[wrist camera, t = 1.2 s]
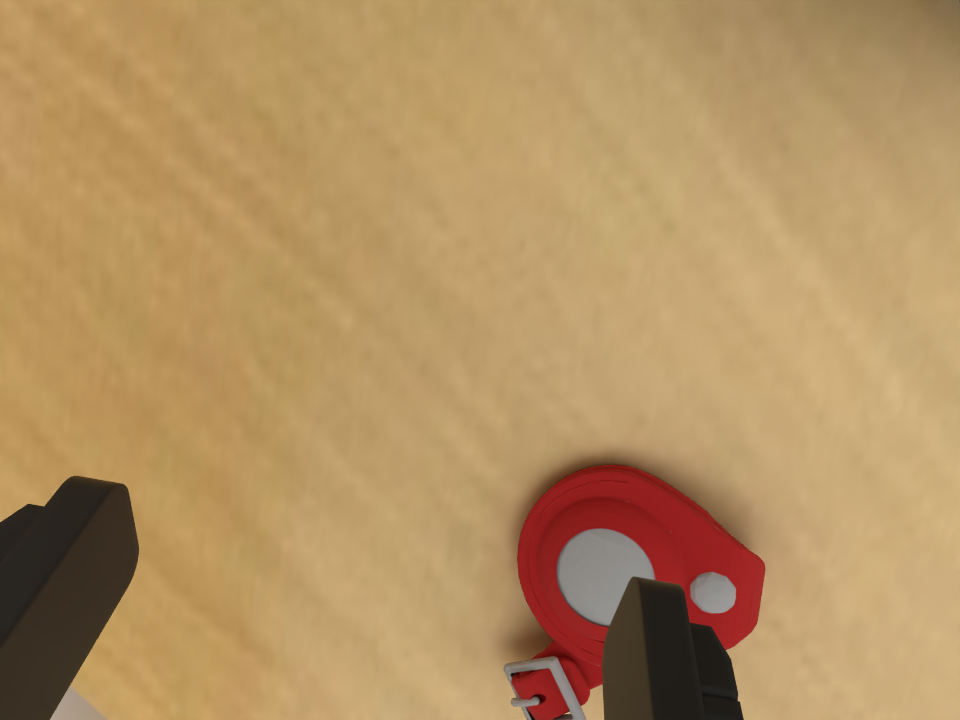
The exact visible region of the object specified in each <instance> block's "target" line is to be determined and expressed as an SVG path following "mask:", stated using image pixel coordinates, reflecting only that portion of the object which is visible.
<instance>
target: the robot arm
mask: <svg viewBox="0 0 960 720" xmlns="http://www.w3.org/2000/svg"><path fill="white" fill-rule="evenodd" d="M138 555H139V545H138V539H137V534H136V528H135V523H134V518H133V512H132V507H131V502H130V496H129V492H128V489H127V487H126V486H125V485H124V484H120V483H115V482H109V481H103V480H98V479H92V478H86V477H81V476H73V477H70V478H69V479H67V480H66V481H65V482H64V483H63V484H62V485H61V486H60V488H59V489H58V490H57V491H56V493H55V494H54V495H53V496H52V498H51V499H50V500H49V501H48V503H47V504H46V505H45V507H43V506H38V505H32V504H27V505H26V506H24V507H23V508H21V509H20V510H18V511H17V512H15V513H14V514H12V515H11V516H9V517H8V518H6V519H5V520H3V521H2V522H0V720H50V718H51V717H52V715H53V713H54V711H55V710H56V708H57V706H58V705H59V703H60V701H61V699H62V698H63V696H64V694H65V693H66V691H67V689H68V688H69V686H70V684H71V683H72V681H73V679H74V678H75V676H76V674H77V673H78V671H79V669H80V667H81V666H82V664H83V662H84V661H85V659H86V657H87V656H88V654H89V652H90V650H91V649H92V647H93V645H94V644H95V642H96V640H97V639H98V637H99V635H100V634H101V632H102V630H103V628H104V627H105V625H106V623H107V622H108V620H109V618H110V617H111V615H112V613H113V611H114V610H115V608H116V606H117V605H118V603H119V601H120V600H121V598H122V596H123V595H124V593H125V591H126V589H127V588H128V586H129V584H130V582H131V580H132V578H133V575H134V572H135V569H136V565H137V561H138ZM602 680H603V700H604V720H744V719H743V715H742V710H741V705H740V702H738V691H737V686H736V681H735V677H734V672H733V667H732V662H731V659H730V657H729V655H728V654H727V652H726V650H725V649H724V647H723V645H722V644H721V642H720V640H719V638H718V637H717V635H716V633H715V632H714V630H713V628H712V627H711V626H707V625H701V624H696V623H690V621H689V615H688V609H687V603H686V597H685V593H684V590H683V588H682V586H681V585H679V584H675V583H669V582H664V581H658V580H652V579H647V578H641V577H635V576H634V577H632V578H631V579H630V580H629V582H628V585H627V587H626V589H625V591H624V594H623V596H622V598H621V600H620V603H619V605H618V607H617V610H616V612H615V614H614V616H613V619H612V621H611V623H610V626H609V628H608V630H607V633H606V637H605V642H604V648H603V656H602Z"/></svg>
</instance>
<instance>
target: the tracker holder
mask: <svg viewBox="0 0 960 720" xmlns="http://www.w3.org/2000/svg"><path fill="white" fill-rule="evenodd" d="M517 561H518V573H519V579H520V583H521V587H522V590H523V593H524V596H525V598H526V601H527V603H528V605H529V607H530V609H531V611H532V613H533V614H534V616H535V618H536V619H537V621H538V622H539V624H540V625H541V626H542V627H543V629H544V630H545V631H546V632H547V633H548V634H549V635H550V636H551V637H552V638H553V639H554V640H553V641H552V643H551V644H550V645H549V646H548V647H547V648H546V649H545V650H544V651H543V652H541V653H539V654H538V655H536V656H535V657H534V658H532V659H531V660H527V661H520V662H514V663H508V664H506V665H504V671H505V674H506V676H507V678H508V680H509V682H510V684H511V686H512V689H513V691H514V693H515V695H516V697H517V698H513V699H512V700H511V705H513V706H519V707H521V708H522V710H523V712H524V714H525V717H526V719H527V720H586V717H585V715H584V712H583V710H582V708H581V705H584V704H585V703H586V702H587V701H588V698H589V695H590V689H592V688H595V687H597V686H599V685H601V684H603V680H602V656H603V648H604V642H605V637H606V633H607V630H608V628H609V626H610V623H611V621H612V619H613V616H614V614H615V612H616V610H617V607H618V605H619V603H620V600H621V598H622V596H623V594H624V591H625V589H626V587H627V585H628V582H629V580H630V579H631V578H632V577H634V576H635V577H641V578H647V579H652V580H658V581H664V582H669V583H675V584H679V585H681V586H682V588H683V590H684V593H685V597H686V603H687V609H688V615H689V621H690V623H696V624H701V625H707V626H711V627H712V628H713V630H714V632H715V633H716V635H717V637H718V638H719V640H720V642H721V644H722V645H723V647H724V649H725V650H727V649H730V648H732V647H734V646H735V645H736V644H738V643H739V642H740V641H741V640H742V639H744V638H745V637H746V636H747V635H749V634H750V633H751V632H752V630H753V629H754V627H755V626H756V624H757V621H758V615H759V608H760V602H761V595H762V589H763V582H764V576H765V564H764V562H763V561H762V560H761V559H760V557H758V556H757V555H755V554H754V553H752V552H751V551H749V550H748V549H747V548H746V547H745V546H744V545H742V544H741V543H740V542H739V541H738V540H736V539H735V538H734V537H733V536H731V535H730V534H729V533H728V532H727V531H726V530H725V529H724V528H722V527H721V526H720V525H719V524H718V523H717V522H716V521H715V520H714V519H713V518H712V517H711V515H710V514H709V513H708V512H707V511H705V510H704V509H703V508H702V507H700V506H699V505H698V504H697V503H695V502H694V501H693V500H691V499H690V498H688V497H687V496H685V495H684V494H682V493H681V492H679V491H678V490H676V489H675V488H673V487H672V486H670V485H669V484H667V483H665V482H664V481H662V480H660V479H658V478H657V477H655V476H653V475H651V474H649V473H646V472H644V471H642V470H639V469H637V468H633V467H629V466H622V465H600V466H595V467H589V468H586V469H583V470H580V471H577V472H575V473H573V474H571V475H569V476H567V477H565V478H564V479H562V480H560V481H559V482H557V483H556V484H555V485H554V486H553V487H551V488H550V489H549V490H548V491H547V492H546V493H545V494H544V495H543V496H542V497H541V498H540V499H539V500H538V502H537V503H536V504H535V505H534V507H533V508H532V510H531V511H530V513H529V514H528V516H527V519H526V521H525V523H524V525H523V528H522V531H521V534H520V539H519V544H518V556H517ZM569 711H570V712H571V714H565V713H567V712H569Z"/></svg>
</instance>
